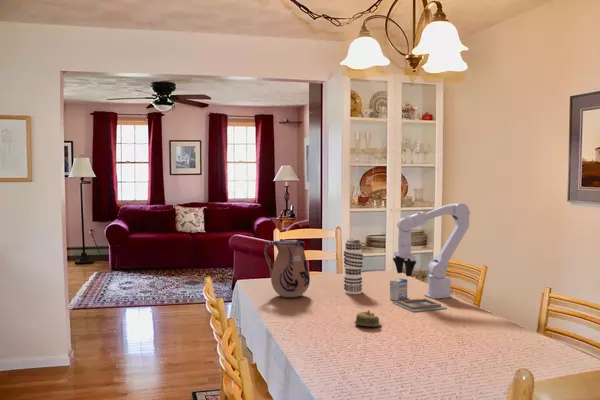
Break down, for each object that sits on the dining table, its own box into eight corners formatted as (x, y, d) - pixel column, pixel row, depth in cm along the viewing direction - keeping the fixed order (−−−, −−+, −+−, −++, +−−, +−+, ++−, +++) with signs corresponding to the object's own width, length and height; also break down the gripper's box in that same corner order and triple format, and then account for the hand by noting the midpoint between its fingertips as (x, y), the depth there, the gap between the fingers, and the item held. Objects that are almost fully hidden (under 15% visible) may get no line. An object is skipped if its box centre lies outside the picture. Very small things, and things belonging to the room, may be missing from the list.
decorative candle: (339, 290, 248) (340, 238, 247) (356, 289, 252) (356, 237, 250) (349, 294, 239) (349, 240, 238) (366, 293, 243) (366, 240, 242)
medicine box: (398, 301, 227) (398, 281, 227) (389, 299, 230) (389, 280, 230) (407, 298, 233) (407, 279, 233) (398, 296, 236) (399, 278, 236)
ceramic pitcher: (309, 300, 228) (309, 243, 227) (261, 299, 229) (261, 243, 228) (309, 291, 246) (310, 239, 245) (265, 291, 246) (265, 238, 245)
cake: (360, 329, 186) (360, 314, 186) (350, 321, 196) (350, 307, 196) (385, 327, 189) (386, 312, 189) (374, 319, 198) (374, 305, 198)
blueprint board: (424, 300, 229) (424, 296, 229) (446, 308, 214) (446, 305, 214) (392, 303, 224) (392, 299, 224) (413, 312, 209) (413, 308, 209)
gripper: (388, 243, 239) (388, 272, 240) (405, 247, 226) (405, 278, 226) (401, 242, 242) (401, 271, 242) (419, 246, 228) (419, 277, 229)
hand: (404, 274), depth 234 cm, fingers open, 7 cm apart
